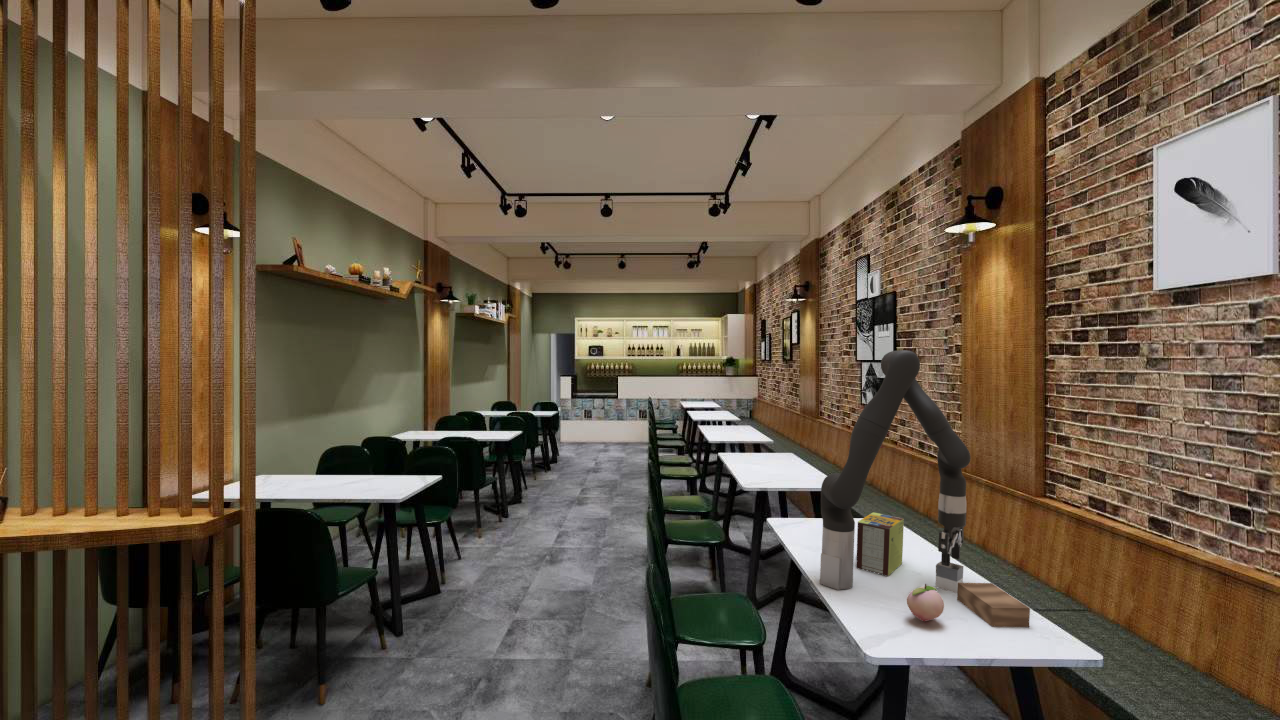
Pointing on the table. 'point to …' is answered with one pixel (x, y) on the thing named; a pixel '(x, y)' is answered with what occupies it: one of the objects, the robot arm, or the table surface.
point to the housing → (949, 576)
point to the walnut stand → (993, 605)
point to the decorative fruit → (925, 603)
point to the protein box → (880, 543)
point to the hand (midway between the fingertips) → (950, 561)
